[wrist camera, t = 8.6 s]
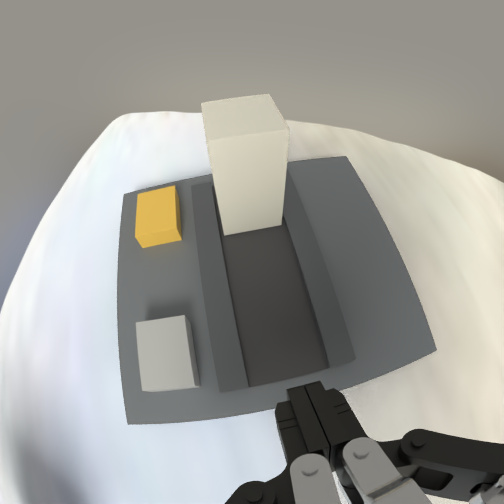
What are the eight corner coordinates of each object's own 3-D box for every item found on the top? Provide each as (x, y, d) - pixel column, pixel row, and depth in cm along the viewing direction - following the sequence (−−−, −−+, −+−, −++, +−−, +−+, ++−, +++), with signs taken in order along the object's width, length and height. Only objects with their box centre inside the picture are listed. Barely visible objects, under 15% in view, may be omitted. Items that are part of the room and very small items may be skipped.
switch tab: (267, 184, 21) (269, 93, 14) (281, 225, 19) (289, 129, 12) (216, 193, 21) (200, 103, 14) (224, 235, 19) (206, 141, 12)
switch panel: (341, 171, 25) (349, 143, 22) (422, 355, 16) (449, 344, 13) (131, 208, 23) (117, 182, 20) (140, 422, 15) (116, 425, 11)
